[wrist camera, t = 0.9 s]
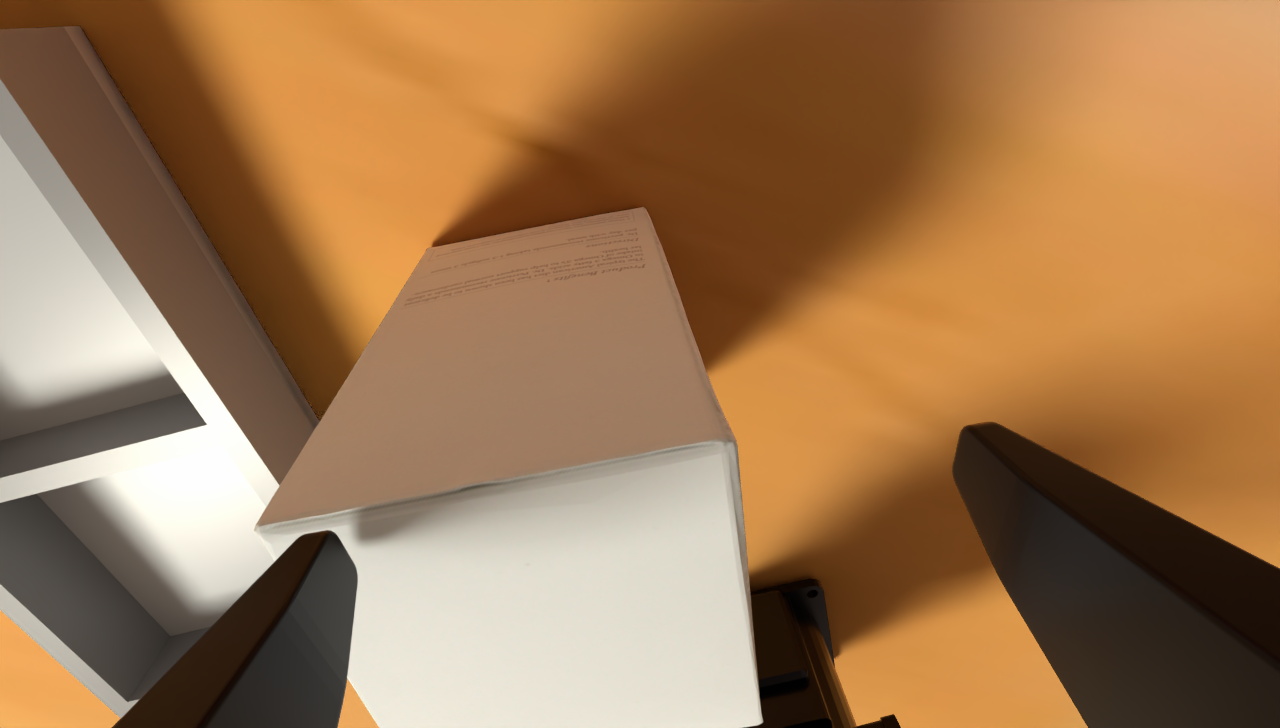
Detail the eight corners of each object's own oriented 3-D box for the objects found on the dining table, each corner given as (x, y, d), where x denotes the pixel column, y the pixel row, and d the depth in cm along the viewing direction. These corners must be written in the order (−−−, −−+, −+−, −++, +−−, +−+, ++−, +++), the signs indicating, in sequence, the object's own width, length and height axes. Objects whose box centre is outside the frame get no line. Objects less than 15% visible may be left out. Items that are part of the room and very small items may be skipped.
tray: (416, 581, 27) (395, 655, 24) (172, 640, 28) (120, 718, 25) (80, 25, 17) (-34, 30, 14) (-302, 138, 17) (-492, 167, 14)
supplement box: (487, 432, 24) (404, 800, 13) (422, 242, 20) (227, 526, 9) (684, 397, 24) (770, 737, 13) (654, 200, 20) (740, 437, 9)
